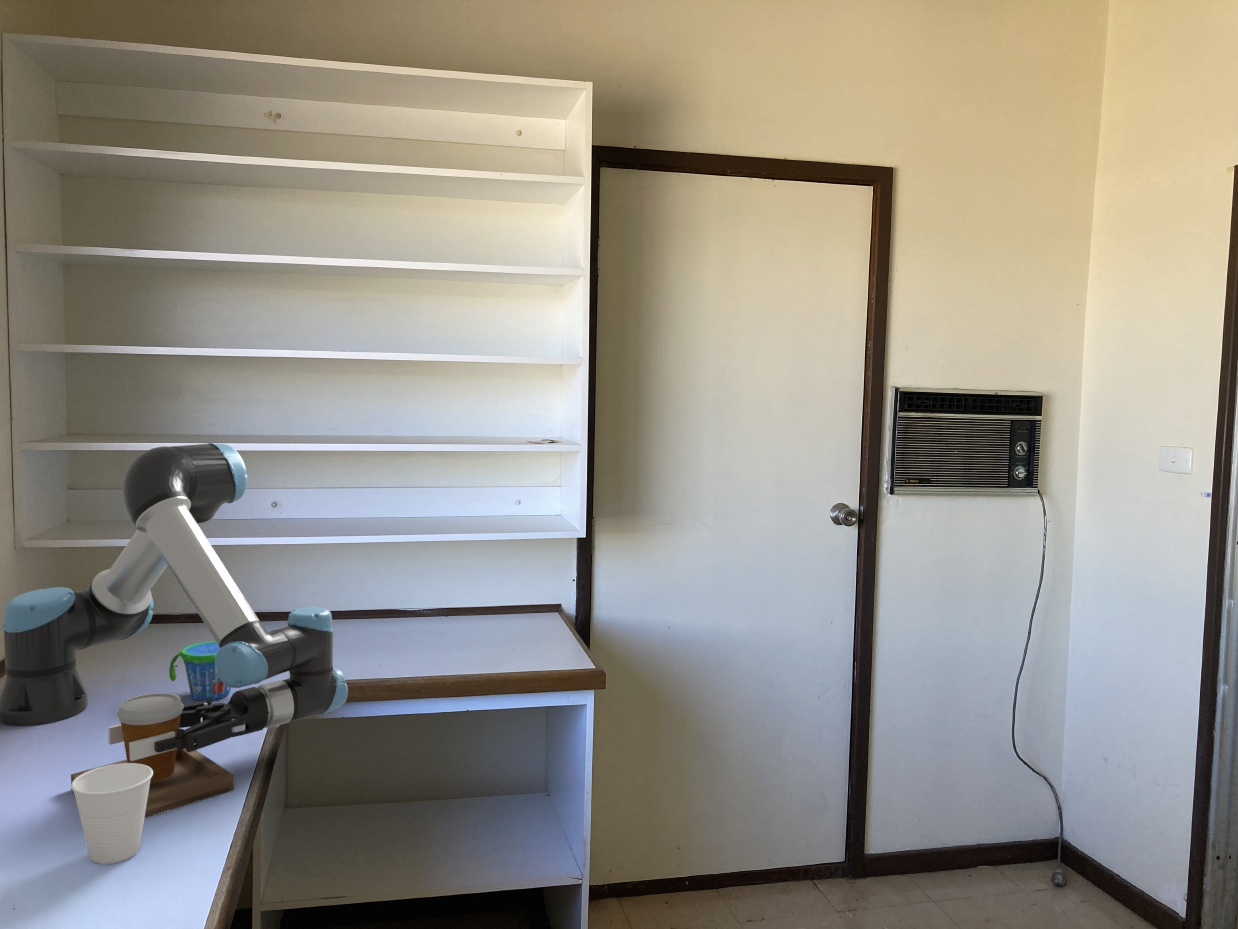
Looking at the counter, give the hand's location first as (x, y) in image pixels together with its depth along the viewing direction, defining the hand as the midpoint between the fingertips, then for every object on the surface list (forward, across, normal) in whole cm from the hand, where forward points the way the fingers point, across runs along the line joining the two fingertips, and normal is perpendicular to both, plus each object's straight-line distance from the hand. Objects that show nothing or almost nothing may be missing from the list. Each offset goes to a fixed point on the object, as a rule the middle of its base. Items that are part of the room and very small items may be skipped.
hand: (119, 743), depth 143 cm
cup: (+7, -17, -9) cm, 20 cm away
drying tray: (-5, 0, -9) cm, 10 cm away
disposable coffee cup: (-5, 0, -7) cm, 8 cm away
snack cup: (-30, +37, -9) cm, 49 cm away
